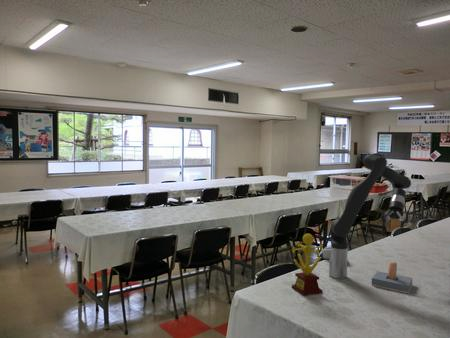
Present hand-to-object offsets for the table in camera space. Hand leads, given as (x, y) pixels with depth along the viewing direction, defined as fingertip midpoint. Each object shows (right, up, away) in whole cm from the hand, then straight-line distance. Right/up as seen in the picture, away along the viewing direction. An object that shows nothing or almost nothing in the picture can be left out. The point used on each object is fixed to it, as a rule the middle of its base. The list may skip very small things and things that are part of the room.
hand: (392, 226), depth 199 cm
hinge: (-22, -29, +36) cm, 51 cm away
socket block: (-4, -31, -7) cm, 32 cm away
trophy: (-52, -31, -15) cm, 63 cm away
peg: (-4, -31, -7) cm, 31 cm away
